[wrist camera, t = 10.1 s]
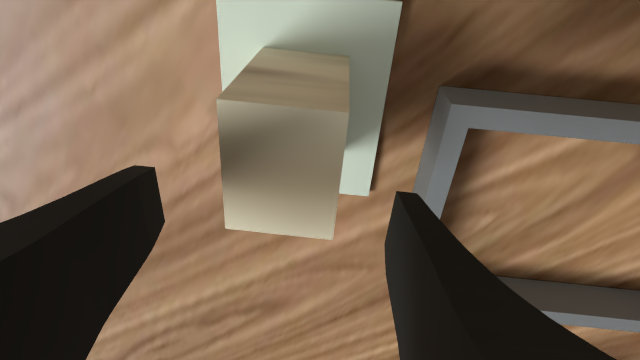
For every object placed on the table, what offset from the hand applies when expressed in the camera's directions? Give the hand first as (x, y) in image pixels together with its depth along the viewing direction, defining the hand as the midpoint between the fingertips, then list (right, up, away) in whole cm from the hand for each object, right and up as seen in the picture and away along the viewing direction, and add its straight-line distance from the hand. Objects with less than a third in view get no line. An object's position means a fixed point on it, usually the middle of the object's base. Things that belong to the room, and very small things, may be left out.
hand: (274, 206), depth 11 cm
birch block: (0, +5, +7) cm, 9 cm away
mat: (0, +5, +8) cm, 9 cm away
